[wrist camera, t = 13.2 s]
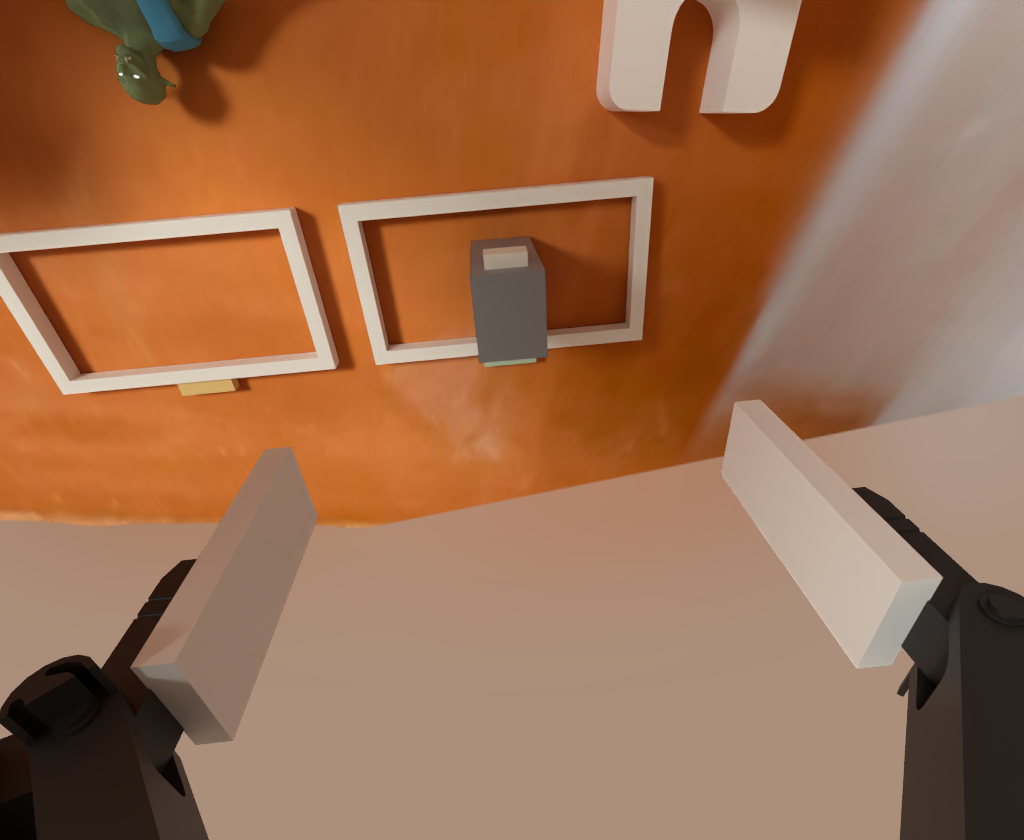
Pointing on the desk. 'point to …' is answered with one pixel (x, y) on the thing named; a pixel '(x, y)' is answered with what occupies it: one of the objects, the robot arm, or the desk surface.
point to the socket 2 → (497, 199)
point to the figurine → (148, 36)
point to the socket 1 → (190, 378)
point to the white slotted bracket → (732, 63)
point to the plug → (508, 299)
